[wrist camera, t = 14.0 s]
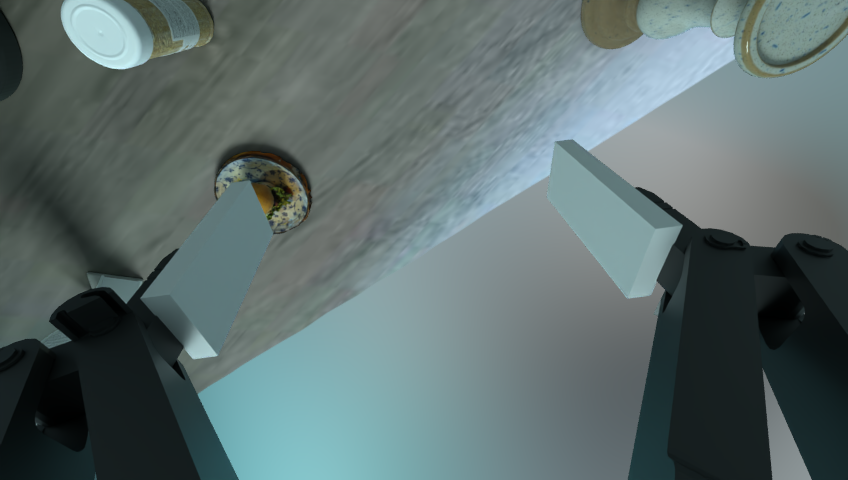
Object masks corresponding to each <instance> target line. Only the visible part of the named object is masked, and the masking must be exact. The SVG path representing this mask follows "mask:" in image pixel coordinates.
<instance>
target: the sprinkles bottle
mask: <svg viewBox="0 0 848 480" xmlns="http://www.w3.org/2000/svg"><path fill="white" fill-rule="evenodd" d="M61 19H62V23H63V26H64V29H65V31H66V33H67V35H68V36H69V38H70V39H71V41H72V42H73V43H74V45H75V46H76V47H77V48H78V49H79V50H80V51H81V52H82V53H83V54H85V55H86V56H87V57H89V58H90V59H91V60H93V61H95V62H97V63H99V64H101V65H103V66H106V67H109V68H113V69H127V68H131V67H135V66H138V65H141V64H143V63H145V62H146V61H147V60H148V59H151V58H155V57H159V56H165V55H169V54H173V53H176V52H180V51H184V50H187V49H190V48H192V47H194V46H195V47H198V46H203V45H205V44H207V43H208V42H209V41H210V40H211V38H212V36H213V28H214V27H213V21H212V18H211V16H210V14H209V12H208V10H207V9H206V7H205V6H204V5H203V4H202V3H201V2H200V1H199V0H64V2H63V4H62V7H61Z"/></svg>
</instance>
